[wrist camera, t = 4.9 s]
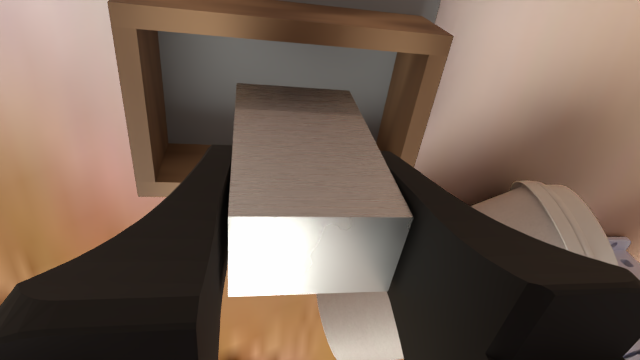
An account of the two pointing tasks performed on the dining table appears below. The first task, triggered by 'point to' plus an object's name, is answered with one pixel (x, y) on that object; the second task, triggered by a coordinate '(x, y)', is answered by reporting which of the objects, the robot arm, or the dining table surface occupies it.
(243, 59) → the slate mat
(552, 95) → the dining table surface
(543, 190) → the coffee cup
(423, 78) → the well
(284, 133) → the brushed aluminum block
